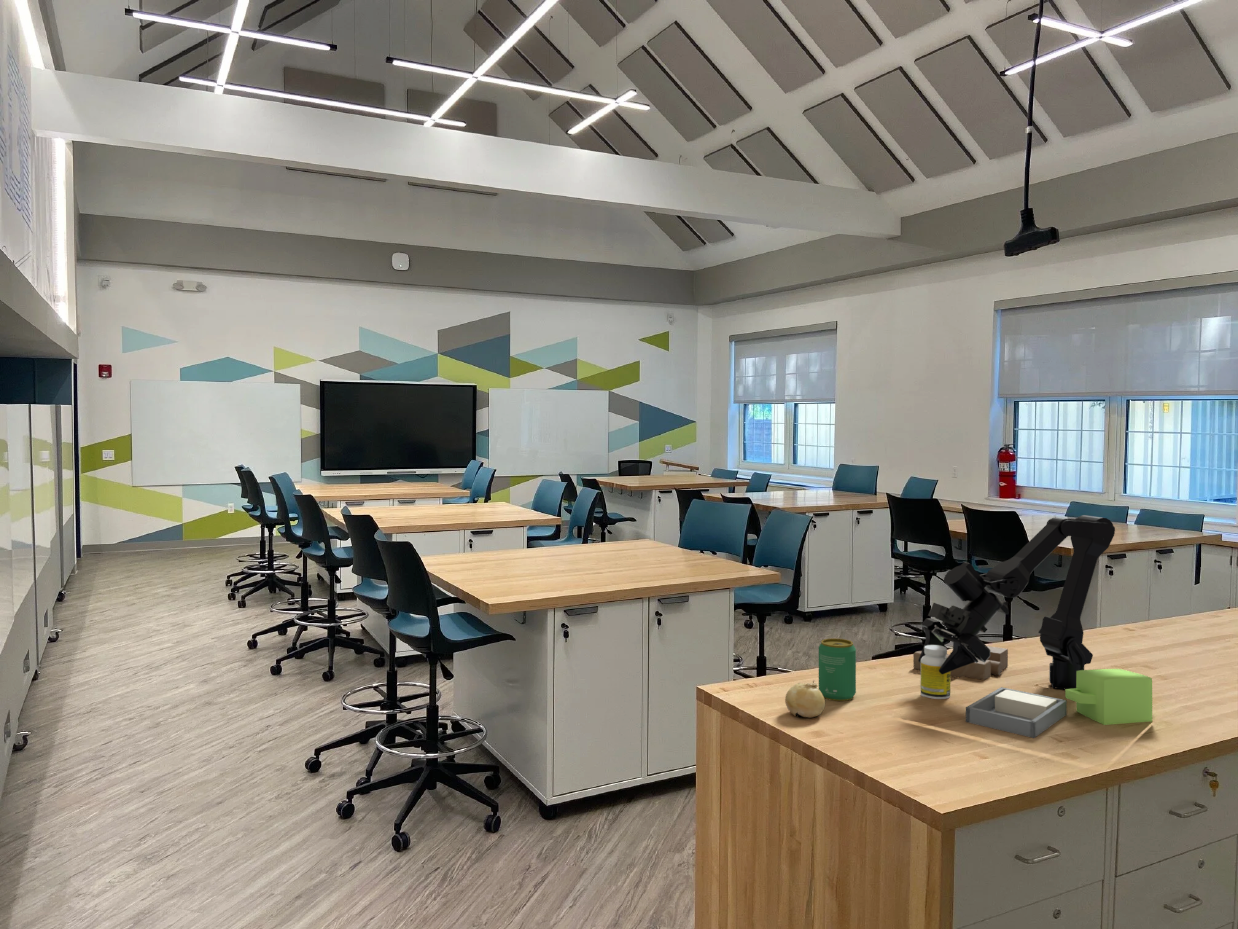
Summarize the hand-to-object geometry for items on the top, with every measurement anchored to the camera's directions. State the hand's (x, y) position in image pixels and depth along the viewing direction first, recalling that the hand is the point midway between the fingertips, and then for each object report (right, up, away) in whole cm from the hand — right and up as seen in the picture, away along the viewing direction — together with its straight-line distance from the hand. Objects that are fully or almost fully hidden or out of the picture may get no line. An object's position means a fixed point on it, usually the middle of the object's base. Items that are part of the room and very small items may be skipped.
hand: (929, 667), depth 187 cm
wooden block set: (+16, -6, +23) cm, 28 cm away
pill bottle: (+1, -7, +1) cm, 7 cm away
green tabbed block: (+32, -7, -13) cm, 36 cm away
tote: (+12, -7, -15) cm, 21 cm away
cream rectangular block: (+15, -6, -12) cm, 20 cm away
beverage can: (-20, -7, +2) cm, 21 cm away
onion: (-29, -8, -10) cm, 32 cm away
